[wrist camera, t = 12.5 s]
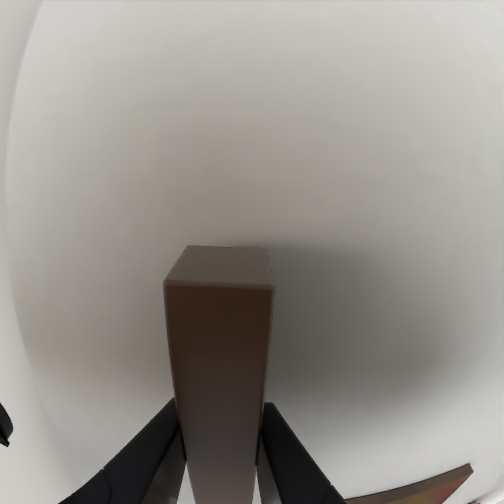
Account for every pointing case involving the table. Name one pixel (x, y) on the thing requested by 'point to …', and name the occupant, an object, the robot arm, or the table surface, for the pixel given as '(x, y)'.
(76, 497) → the robot arm
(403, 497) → the butter board
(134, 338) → the table surface
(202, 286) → the brown and silver rod
